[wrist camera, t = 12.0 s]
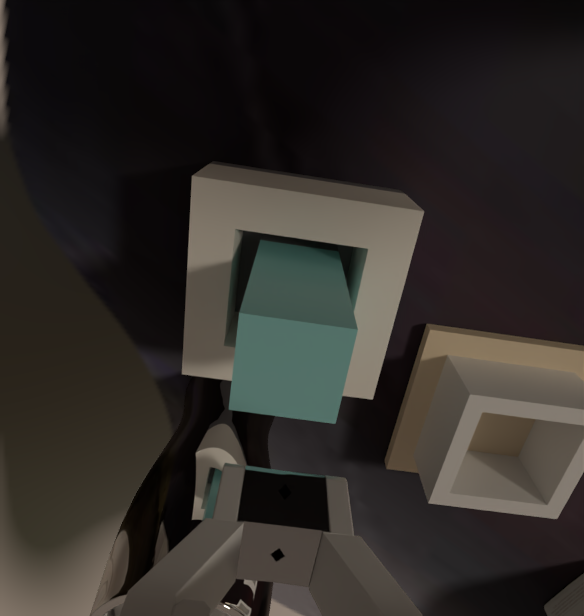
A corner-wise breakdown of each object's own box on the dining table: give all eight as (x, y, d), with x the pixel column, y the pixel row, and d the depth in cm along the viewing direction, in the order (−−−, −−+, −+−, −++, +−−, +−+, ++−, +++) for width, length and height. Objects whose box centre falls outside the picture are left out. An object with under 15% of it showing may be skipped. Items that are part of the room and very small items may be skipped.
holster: (426, 323, 27) (450, 366, 23) (600, 348, 28) (656, 394, 23) (384, 460, 32) (397, 517, 27) (534, 479, 32) (570, 538, 28)
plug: (262, 231, 24) (239, 312, 15) (336, 243, 24) (358, 329, 15) (254, 299, 26) (228, 409, 16) (323, 309, 26) (335, 423, 17)
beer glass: (271, 448, 31) (248, 713, 18) (173, 427, 31) (72, 686, 17) (295, 366, 29) (291, 609, 15) (187, 342, 28) (81, 572, 14)
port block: (213, 161, 23) (191, 175, 19) (400, 190, 24) (424, 211, 19) (201, 329, 28) (181, 374, 23) (361, 351, 28) (372, 399, 23)
